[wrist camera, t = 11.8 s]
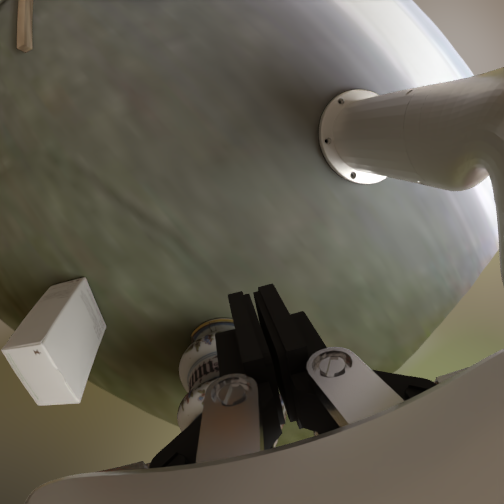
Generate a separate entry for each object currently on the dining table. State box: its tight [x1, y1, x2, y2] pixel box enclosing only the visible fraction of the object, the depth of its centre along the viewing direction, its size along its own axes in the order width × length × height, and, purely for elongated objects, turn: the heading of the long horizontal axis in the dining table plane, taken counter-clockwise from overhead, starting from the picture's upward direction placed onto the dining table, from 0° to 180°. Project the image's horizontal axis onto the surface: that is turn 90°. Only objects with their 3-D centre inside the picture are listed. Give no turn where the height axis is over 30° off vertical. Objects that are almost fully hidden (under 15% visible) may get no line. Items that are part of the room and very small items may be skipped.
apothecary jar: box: [177, 318, 286, 448], centre depth 35 cm, size 12×12×18 cm
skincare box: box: [1, 277, 106, 405], centre depth 30 cm, size 8×7×16 cm
